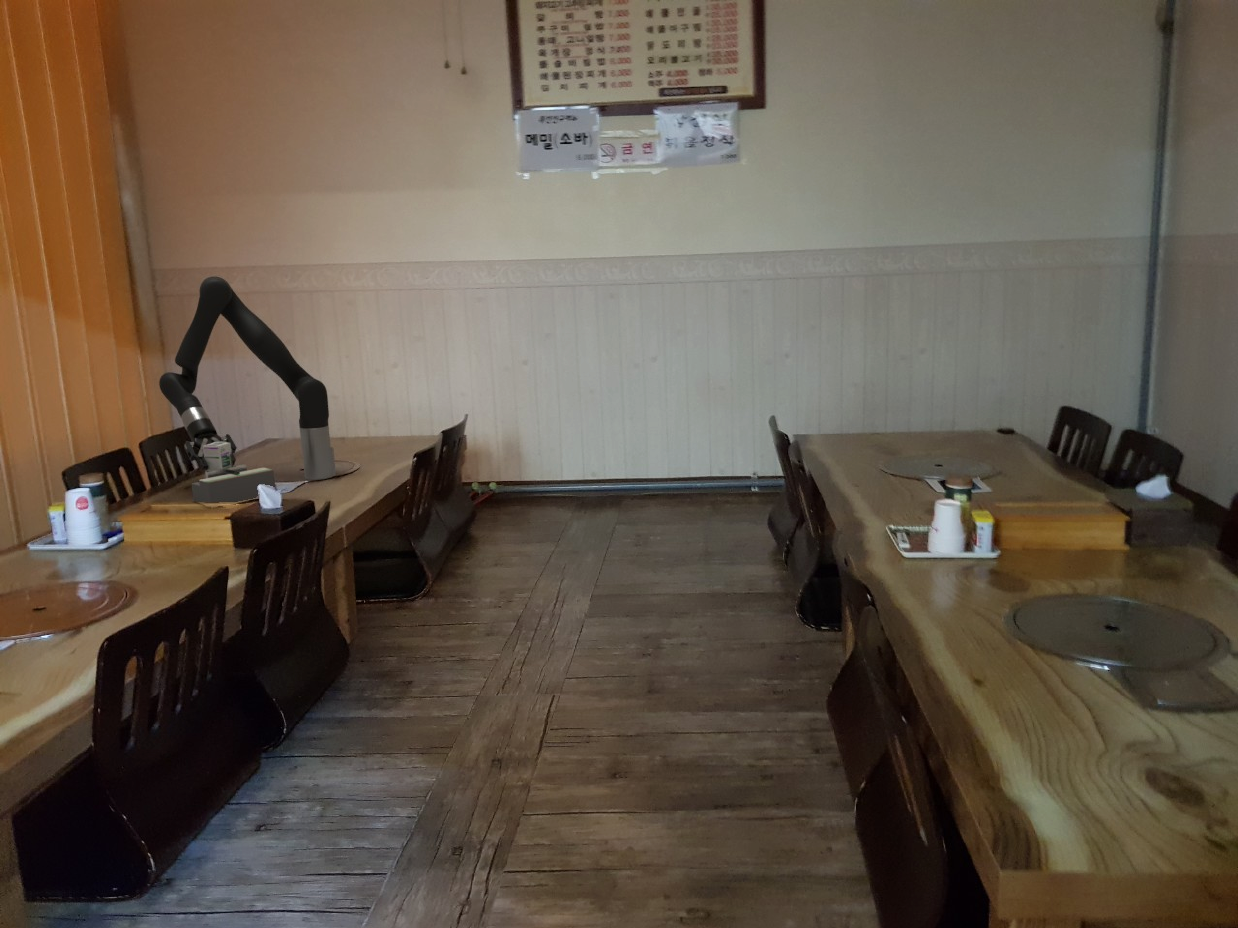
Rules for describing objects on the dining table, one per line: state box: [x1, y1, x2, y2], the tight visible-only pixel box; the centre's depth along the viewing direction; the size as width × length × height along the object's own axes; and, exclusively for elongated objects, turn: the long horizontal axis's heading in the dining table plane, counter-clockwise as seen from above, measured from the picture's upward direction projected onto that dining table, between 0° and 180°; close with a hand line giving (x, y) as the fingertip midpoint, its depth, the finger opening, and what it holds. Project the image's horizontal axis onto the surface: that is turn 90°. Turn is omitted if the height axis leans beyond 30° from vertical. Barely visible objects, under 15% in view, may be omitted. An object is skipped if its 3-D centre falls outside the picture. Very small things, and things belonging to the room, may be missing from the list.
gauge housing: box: [191, 467, 276, 503], centre depth 295 cm, size 20×13×8 cm, turn 137°
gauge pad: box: [204, 463, 248, 479], centre depth 295 cm, size 12×8×8 cm
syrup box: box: [203, 441, 234, 471], centre depth 299 cm, size 6×6×14 cm
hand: (220, 466), depth 299 cm, fingers closed on syrup box, 8 cm apart
